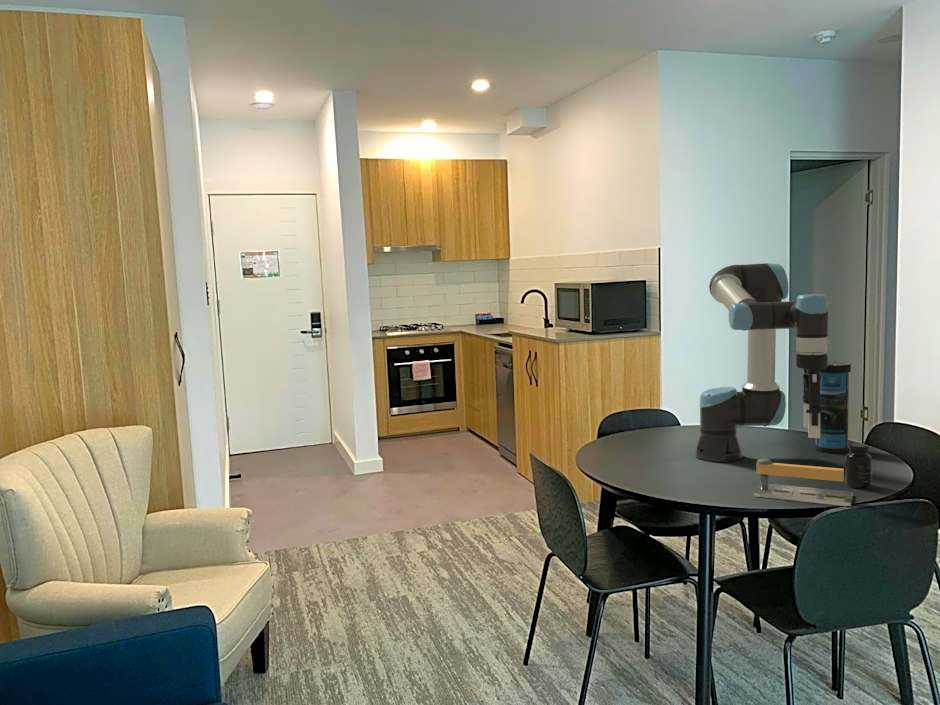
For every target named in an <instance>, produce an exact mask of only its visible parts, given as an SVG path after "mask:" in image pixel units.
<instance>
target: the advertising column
mask: <svg viewBox="0 0 940 705" xmlns="http://www.w3.org/2000/svg"><path fill="white" fill-rule="evenodd" d="M851 366H852V363H850V362H847V361H828V366H827V368H825V369H818V374H820V376H821V381H820V399H821V412H820V438H815V446H814V447H815V450H816V451H817V450H818V451H817V452H820V451H821V452H820V453H825V452H826V453H825V454H844V453H848V452H849V451H848V450H849V391H850V390H849V388H850V387H849V386H850V384H849V380H850V379H849V378H850V373H851V371H852V367H851Z"/></svg>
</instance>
